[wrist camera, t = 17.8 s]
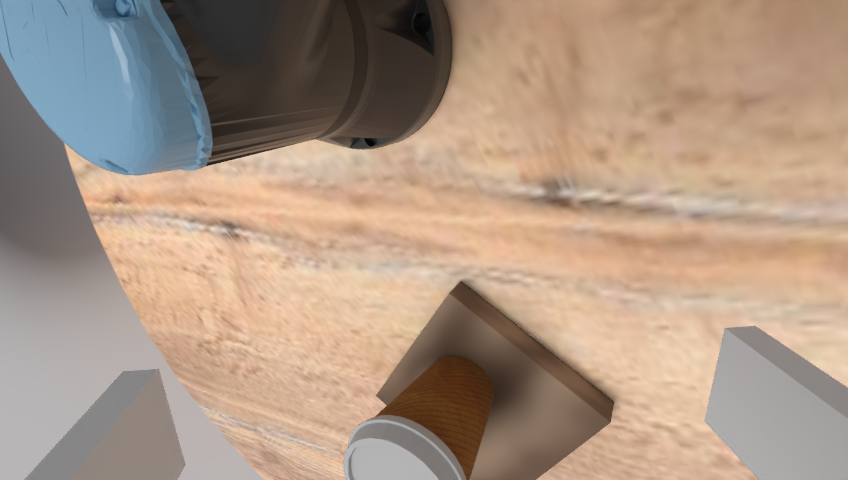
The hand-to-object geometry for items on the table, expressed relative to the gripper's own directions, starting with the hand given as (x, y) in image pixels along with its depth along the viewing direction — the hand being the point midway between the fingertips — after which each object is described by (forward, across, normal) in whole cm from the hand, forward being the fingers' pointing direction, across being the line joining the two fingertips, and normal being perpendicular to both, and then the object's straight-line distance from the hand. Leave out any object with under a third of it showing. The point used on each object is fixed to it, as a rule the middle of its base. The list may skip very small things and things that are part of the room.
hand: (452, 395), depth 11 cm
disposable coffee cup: (+25, +4, -19) cm, 32 cm away
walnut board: (+26, +6, -21) cm, 34 cm away
